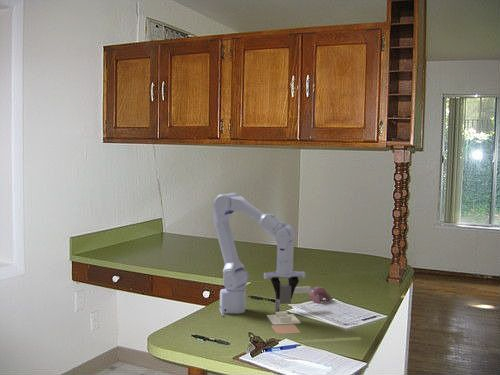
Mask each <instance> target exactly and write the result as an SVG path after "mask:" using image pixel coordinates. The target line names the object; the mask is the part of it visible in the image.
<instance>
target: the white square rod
mask: <svg viewBox="0 0 500 375" xmlns="http://www.w3.org/2000/svg"><path fill="white" fill-rule="evenodd" d="M311 289H312V286H310V285H306V286H305V285H304V286H296V288H295V290H294V292H293V295H296V294H305V293H306V294H309V292H311ZM274 295H275V292H274Z"/></svg>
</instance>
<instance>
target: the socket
mask: <svg viewBox="0 0 500 375" xmlns="http://www.w3.org/2000/svg"><path fill="white" fill-rule="evenodd" d="M274 298H275V300H274V301H275V302H274V303H275V306H274V307H275V308H274V312H275V314H266V316H267V318H268V320H269V321H270V323H272V324H271V325H272V326H273V325H292V324H294V325H295V324H301V323H302V322H301V321H300V320H299V319H298V318H297V317H296V315H295V314H294V313H288V311H284V310H283V311H280V310H281V309H280V308H281V307H280V305H281V304H280V303H279V302H278V301H277V299H276V296H275V297H274Z"/></svg>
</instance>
